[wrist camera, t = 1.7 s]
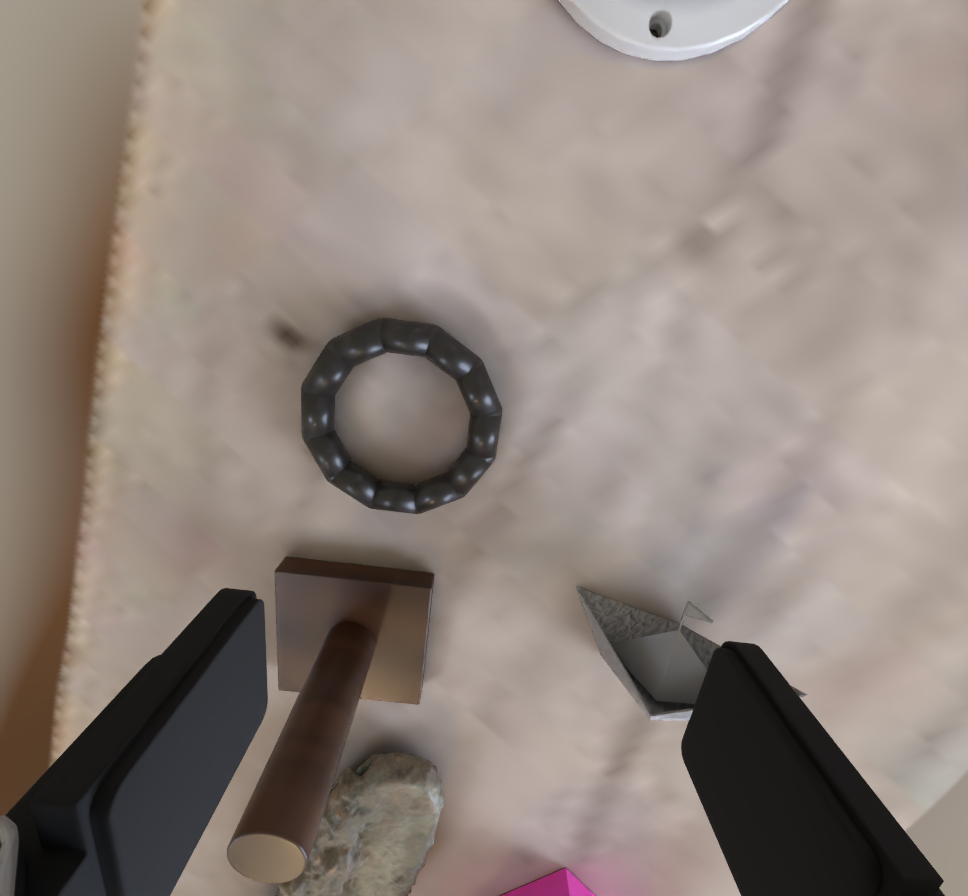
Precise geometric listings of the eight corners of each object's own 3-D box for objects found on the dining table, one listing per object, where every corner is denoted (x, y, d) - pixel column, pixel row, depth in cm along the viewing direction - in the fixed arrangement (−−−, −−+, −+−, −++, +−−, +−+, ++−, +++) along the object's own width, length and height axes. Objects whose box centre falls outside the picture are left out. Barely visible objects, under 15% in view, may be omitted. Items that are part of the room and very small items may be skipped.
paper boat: (548, 688, 29) (552, 597, 23) (586, 612, 33) (598, 522, 28) (760, 811, 23) (829, 727, 18) (773, 700, 27) (832, 607, 22)
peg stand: (285, 556, 27) (127, 762, 15) (434, 572, 27) (393, 788, 15) (288, 671, 30) (157, 920, 18) (422, 685, 30) (380, 938, 18)
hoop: (308, 306, 22) (295, 307, 21) (512, 333, 23) (514, 336, 21) (308, 492, 26) (297, 505, 24) (486, 513, 26) (486, 527, 24)
